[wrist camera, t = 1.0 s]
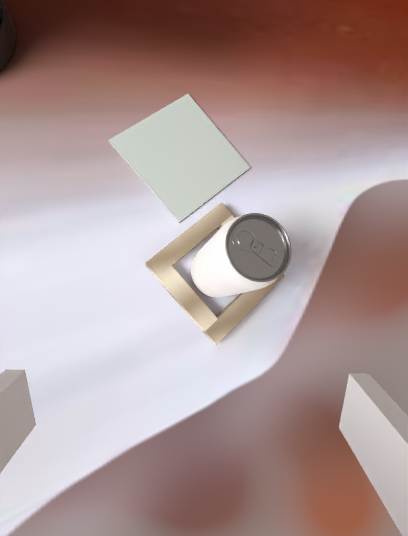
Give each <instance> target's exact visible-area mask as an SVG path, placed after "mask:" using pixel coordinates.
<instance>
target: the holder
mask: <svg viewBox="0 0 408 536" xmlns="http://www.w3.org/2000/svg"><path fill="white" fill-rule="evenodd" d="M234 218H235V217H234V216H233V215H232V213H231V212H230V211H229V210H228V209H227V208H226V206H225V205H224V204H223V203H221V204H219V205H218V206H217V207H215V208H214V209H213V210H212V211H210V212H209V213H208V214H207V215H205V216H204V217H203V218H202V219H200V220H199V221H198V222H197V223H195V224H194V225H193V226H192V227H190V228H189V229H188V230H186V231H185V232H184V233H183V234H181V235H180V236H179V237H178V238H176V239H175V240H174V241H173V242H171V243H170V244H169V245H168V246H166V247H165V248H164V249H163V250H161V251H160V252H159V253H157V254H156V255H155V256H154V257H152V258H151V259H150V260H149V261H147V262H146V267H147V268H148V269H149V270H150V271H151V272H152V274H153V275H154V276H155V277H156V278H157V279H158V280H159V282H160V283H161V284H162V285H163V286H164V287H165V288H166V290H167V291H168V292H169V293H170V294H171V295H172V297H173V298H174V299H175V300H176V301H177V302H178V303H179V305H180V306H181V307H182V308H183V309H184V310H185V311H186V313H187V314H188V315H189V316H190V317H191V318H192V320H193V321H194V322H195V323H196V324H197V325H198V326H199V328H200V329H201V330H202V331H203V332H204V333H205V334H206V336H207V337H208V338H209V339H210V340H211V341H212V343H213V344H216V345H217V344H218V343H219V342H220V341H221V340H222V339H223V338H224V337H225V336H226V335H227V334H228V333H229V332H230V331H231V330H232V329H233V328H234V327H235V326H236V325H237V324H238V323H239V322H240V321H241V320H242V319H243V318H244V317H245V316H246V315H247V314H248V313H249V312H250V311H251V310H252V309H253V308H254V307H255V306H256V305H257V304H258V302H259V301H260V300H261V299H262V298H263V297H264V296H265V295H266V294H267V293H268V292H269V291H270V290H271V289H272V288H273V287H274V286H275V285H276V284H277V283H278V282H279V281H280V280H281V279H282V278H283V277H284V274H282V275H280V276H279V277H278V278H277V279H276V280H275V281H274V282H273V283H272V284H270V285H268V286H266V287H264V288H261V289H258V290H254V291H250V292H245V293H241V294H239V295H238V296H237V297H236V298H235V299H234V300H233V301H232V302H231V303H230V304H229V305H228V306H227V307H226V308H225V309H224V310H223V311H222V312H221V313H220V314H219V315H218V316H215V315H214V314H213V313H212V311H211V310H210V309H209V308H208V307H207V306H206V304H205V303H204V302H203V301H202V300H201V299H200V298H199V296H198V295H197V294H196V293H195V292H194V291H193V289H192V288H191V287H190V286H189V285H188V284H187V283H186V281H185V280H184V279H183V278H182V277H181V276H180V274H179V273H178V272H177V271H176V270H175V269H174V268H173V266H172V265H174V264H175V263H176V262H177V261H178V260H180V259H181V258H182V257H183V256H185V255H186V254H187V253H188V252H189V251H191V250H192V249H193V248H194V247H195V246H197V245H198V244H199V243H200V242H201V241H203V240H204V239H205V238H206V237H207V236H209V235H210V234H211V233H212V232H213V231H215V230H216V229H217V228H218V229H220V228H221V227H222V226H224V225H225V224H226V223H227V222H228V221H230V220H232V219H234Z"/></svg>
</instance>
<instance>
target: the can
mask: <svg viewBox="0 0 408 536" xmlns="http://www.w3.org/2000/svg"><path fill="white" fill-rule="evenodd" d="M290 258H291V245H290V241H289V238H288V235H287V233H286V232H285V230H284V229H283V227H282V226H281V225H280V224H279V223H278V222H277V221H276V220H274V219H273V218H271V217H269V216H267V215H264V214H259V213H251V214H246V215H243V216H239V217H236V218H234V219H232V220H230V221H228V222H227V223H226V224H225V225H224V226H222V227H221V228H220V229H219V230H218V231H217V233H216V234H215V235H214V236H213V237H212V238H211V239H210V240H209V241H208V242H207V243H206V244H205V245H204V246H203V247H202V248H201V250H200V251H199V252H198V253H197V254H196V256H195V258H194V260H193V262H192V266H191V275H192V279H193V282H194V284H195V285H196V287H197V288H198V289H199V290H200V291H201V292H202V293H204V294H205V295H207V296H210V297H214V298H221V297H227V296H232V295H236V294H241V293H245V292H250V291H254V290H258V289H261V288H264V287H266V286H268V285H270V284H272V283H273V282H274V281H275V280H276V279H277V278H278V277H279V276H280V275H282V274H283V273H284V271H285V270H286V268H287V267H288V264H289V262H290Z"/></svg>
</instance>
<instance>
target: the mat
mask: <svg viewBox="0 0 408 536" xmlns="http://www.w3.org/2000/svg"><path fill="white" fill-rule="evenodd" d="M109 142H110V143H111V144H112V146H113V147H114V148H115V149H116V150H117V151H118V153H119V154H120V155H121V156H122V157H123V158H124V160H125V161H126V162H127V163H128V164H129V165H130V167H131V168H132V169H133V170H134V171H135V172H136V174H137V175H138V176H139V177H140V178H141V179H142V181H143V182H144V183H145V184H146V185H147V186H148V187H149V189H150V190H151V191H152V192H153V193H154V194H155V196H156V197H157V198H158V199H159V200H160V201H161V203H162V204H163V205H164V206H165V207H166V208H167V210H168V211H169V212H170V213H171V214H172V215H173V217H174V218H175V219H176V220H177V221H178V222H179V223H180V222H181V221H182V220H183V219H185V218H186V217H187V216H189V215H190V214H191V213H192V212H194V211H195V210H196V209H198V208H199V207H200V206H202V205H203V204H204V203H205V202H207V201H208V200H209V199H211V198H212V197H213V196H215V195H216V194H217V193H218V192H220V191H221V190H222V189H224V188H225V187H226V186H227V185H229V184H230V183H231V182H233V181H234V180H235V179H237V178H238V177H239V176H240V175H242V174H243V173H244V172H246V171H247V170H248V169H249V168H250V166H249V165H248V164H247V163H246V161H245V160H244V159H243V158H242V157H241V156H240V154H239V153H238V152H237V151H236V150H235V148H234V147H233V146H232V145H231V144H230V143H229V141H228V140H227V139H226V138H225V137H224V135H223V134H222V133H221V132H220V131H219V130H218V128H217V127H216V126H215V125H214V124H213V122H212V121H211V120H210V119H209V118H208V117H207V115H206V114H205V113H204V112H203V111H202V109H201V108H200V107H199V106H198V105H197V103H196V102H195V101H194V100H193V99H192V98H191V96H190V95H189V94H187V95H185V96H183V97H181V98H180V99H178V100H176V101H175V102H173V103H171V104H169V105H168V106H166V107H164V108H162V109H161V110H159V111H157V112H156V113H154V114H152V115H150V116H149V117H147V118H145V119H144V120H142V121H140V122H138V123H137V124H135V125H133V126H131V127H130V128H128V129H126V130H125V131H123V132H121V133H119V134H118V135H116V136H114V137H112V138H111V139H109Z"/></svg>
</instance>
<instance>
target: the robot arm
mask: <svg viewBox="0 0 408 536" xmlns="http://www.w3.org/2000/svg"><path fill="white" fill-rule="evenodd" d="M15 45H16V30H15V25H14V22H13V20H12V18H11V15H10V13H9V11H8V8H7V6H6V4H5V1H4V0H0V69H1V68H2V67H4V66H5V64H6V63H7V62H8V61H9V59H10V58H11V56H12V54H13V52H14V49H15ZM35 425H36V423H35V418H34V413H33V408H32V403H31V398H30V393H29V388H28V383H27V378H26V373H25V370H5V371H4V372H3V373H1V374H0V473H1V471H2V470H3V469H4V467H5V466H6V465H7V463H8V462H9V461H10V459H11V458H12V456H13V455H14V454H15V452H16V451H17V450H18V448H19V447H20V446H21V444H22V443H23V441H24V440H25V439H26V437H27V436H28V435H29V433H30V432H31V431H32V429H33V428H34V426H35ZM339 428H340V430H341V432H342V433H343V435H344V437H345V439H346V440H347V442H348V444H349V445H350V447H351V449H352V450H353V452H354V454H355V456H356V457H357V459H358V461H359V462H360V464H361V466H362V468H363V469H364V471H365V473H366V474H367V476H368V478H369V480H370V481H371V483H372V485H373V486H374V488H375V490H376V492H377V493H378V495H379V497H380V498H381V500H382V502H383V504H384V505H385V507H386V509H387V510H388V512H389V513H390V516H391V517H392V519H393V521H394V522H395V524H396V526H397V527H398V529H399V531H400V533H401V534H402V536H408V416H407V415H406V414H405V413H404V411H403V410H402V409H401V408H400V407H399V406H398V405H397V404H396V403H395V402H394V401H393V400H392V399H391V397H390V396H389V395H388V394H387V393H386V392H385V391H384V390H383V389H382V388H381V387H380V386H379V385H378V383H377V382H376V381H375V380H374V379H373V378H372V377H371V376H370V375H369V374H368V373H349V378H348V383H347V388H346V394H345V399H344V405H343V409H342V414H341V419H340V425H339Z"/></svg>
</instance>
